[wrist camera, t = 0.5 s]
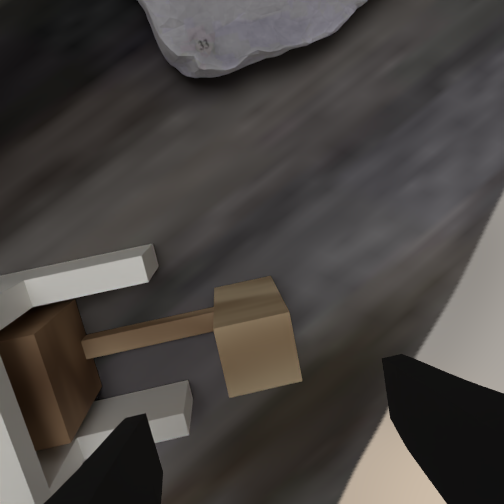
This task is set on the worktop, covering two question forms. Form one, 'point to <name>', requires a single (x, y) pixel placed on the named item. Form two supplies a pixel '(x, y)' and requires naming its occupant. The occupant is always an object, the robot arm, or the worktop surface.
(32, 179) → the worktop surface
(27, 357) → the tethered block
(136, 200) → the worktop surface
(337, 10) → the stone block
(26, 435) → the cubby lane
